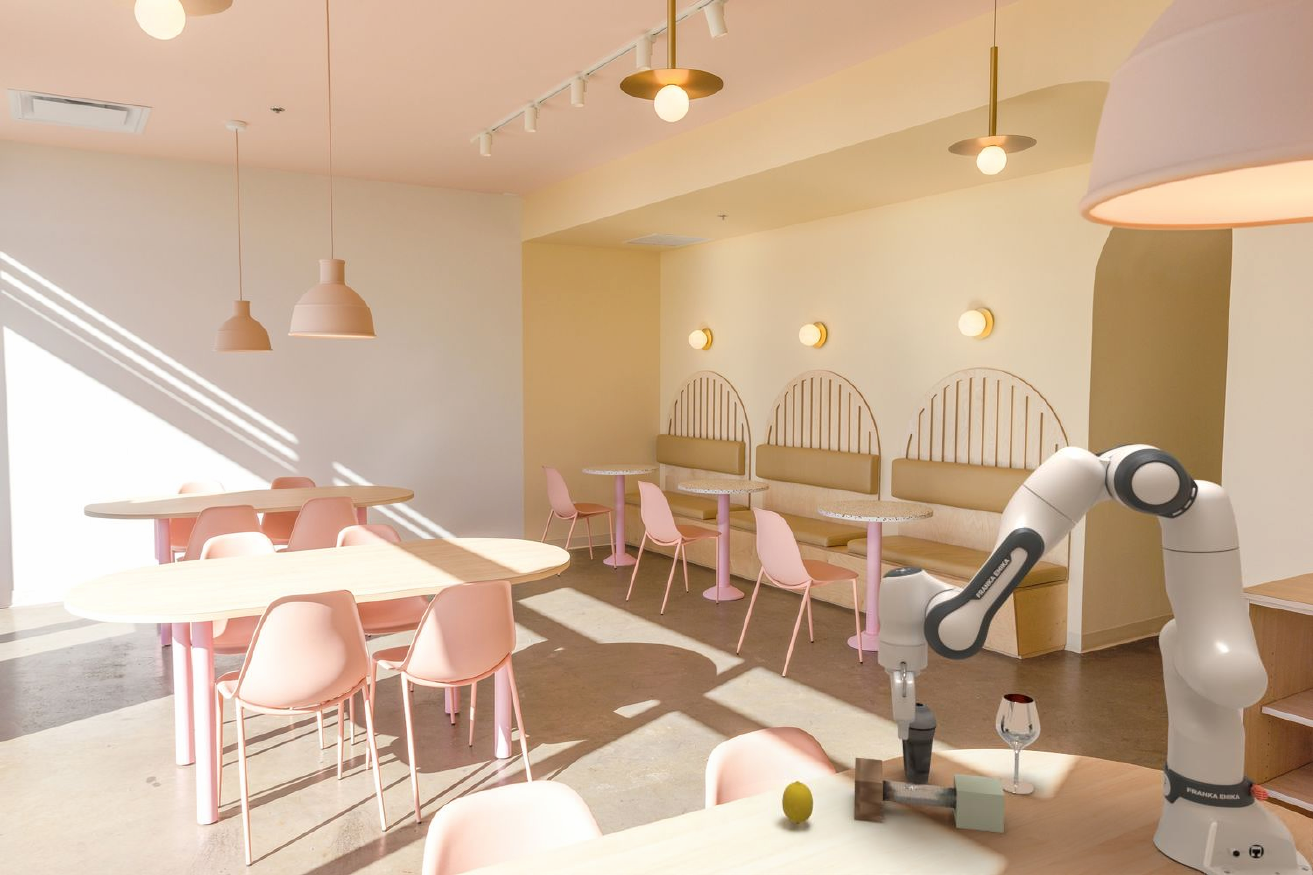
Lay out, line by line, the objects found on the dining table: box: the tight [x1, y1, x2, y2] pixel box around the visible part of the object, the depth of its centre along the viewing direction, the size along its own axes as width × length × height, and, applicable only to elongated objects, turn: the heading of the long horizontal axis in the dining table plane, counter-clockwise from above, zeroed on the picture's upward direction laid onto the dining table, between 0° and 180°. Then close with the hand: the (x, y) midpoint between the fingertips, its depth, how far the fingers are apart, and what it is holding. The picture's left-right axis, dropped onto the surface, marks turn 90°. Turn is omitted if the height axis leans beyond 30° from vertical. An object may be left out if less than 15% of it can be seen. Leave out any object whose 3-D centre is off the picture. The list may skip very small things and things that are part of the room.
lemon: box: [781, 780, 814, 825], centre depth 160 cm, size 6×6×8 cm
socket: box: [853, 757, 884, 824], centre depth 165 cm, size 5×10×8 cm, turn 166°
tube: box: [883, 779, 957, 810], centre depth 164 cm, size 16×4×4 cm, turn 76°
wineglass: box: [995, 692, 1041, 795], centre depth 174 cm, size 8×8×18 cm
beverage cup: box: [901, 698, 937, 785], centre depth 177 cm, size 7×7×20 cm
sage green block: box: [952, 773, 1006, 834], centre depth 161 cm, size 8×7×7 cm
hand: (902, 727), depth 163 cm, fingers open, 8 cm apart
